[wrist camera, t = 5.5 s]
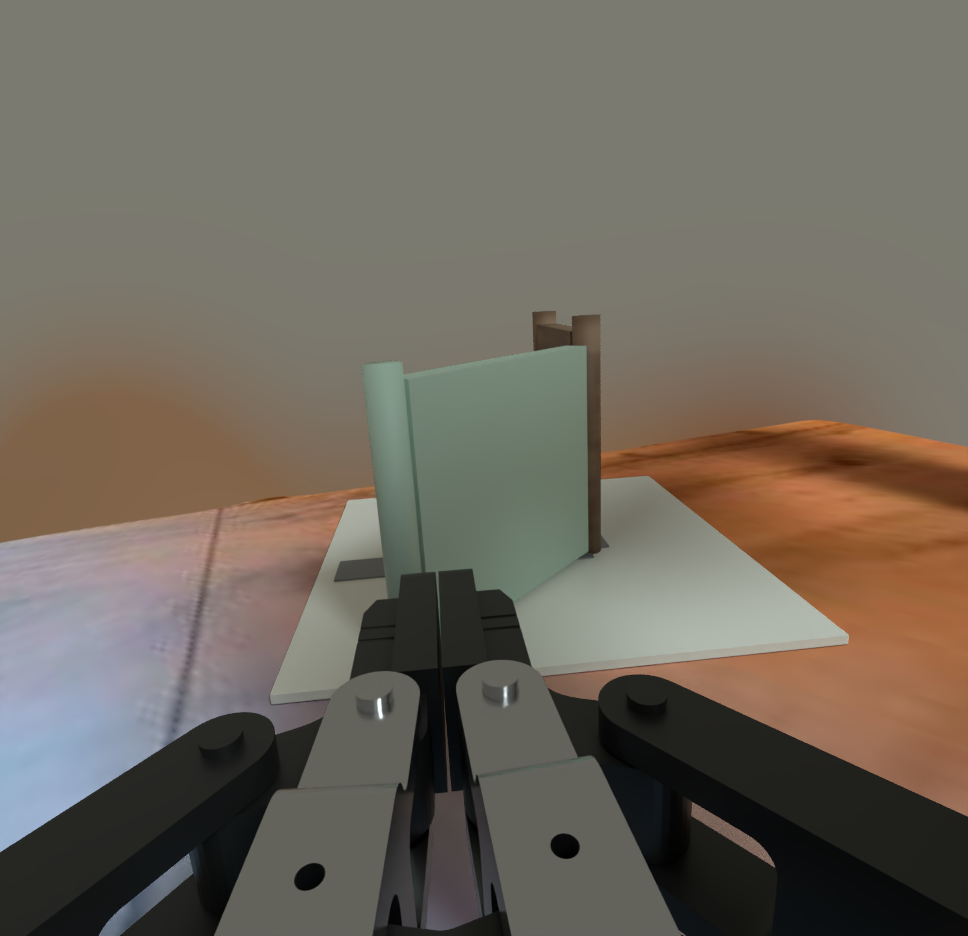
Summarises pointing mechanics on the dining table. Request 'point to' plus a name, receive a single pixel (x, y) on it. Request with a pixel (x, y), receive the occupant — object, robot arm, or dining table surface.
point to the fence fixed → (587, 334)
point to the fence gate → (481, 467)
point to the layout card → (581, 598)
